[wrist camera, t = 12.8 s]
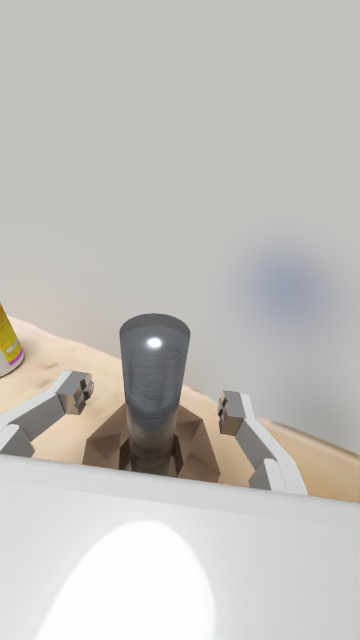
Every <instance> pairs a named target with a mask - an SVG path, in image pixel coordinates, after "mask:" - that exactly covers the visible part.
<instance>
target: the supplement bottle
mask: <svg viewBox="0 0 360 640" xmlns="http://www.w3.org/2000/svg"><path fill="white" fill-rule="evenodd" d="M23 358H24V352H23V349H22V347H21V345H20V343H19V341H18V339H17V337H16V335H15V332H14V330H13V328H12V326H11V324H10V322H9V320H8V318H7V316H6V314H5V312H4V310H3V308H2V305H1V303H0V377H1V376H3V375H5V374H7V373H9V372H11V371H12V370H14V369H15V368H16V367H17V366H18V365H19V364H20V363H21V362H22V360H23Z"/></svg>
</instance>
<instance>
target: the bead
mask: <svg viewBox="0 0 360 640" xmlns="http://www.w3.org/2000/svg"><path fill="white" fill-rule="evenodd" d="M171 455H172V456H173V457H174V459H175V465H176V471H177V478H183V479H190V480H198V481H205V482H212V483H217V482H218V479H219V476H220V471H219V468H218V465H217V462H216V459H215V456H214V453H213V450H212V447H211V444H210V441H209V438H208V435H207V431H206V428H205V425H204V422H203V419H201V418H199V417H198V416H196V415H195V414H193V413H192V412H190V411H189V410H187V409H186V408H184V407H183V406H181V405H180V404H179V407H178V413H177V419H176V425H175V431H174V437H173V443H172V449H171ZM130 459H131V457H130V446H129V435H128V424H127V412H126V402H125V403H124V404H123V405H122V406H121V407H120V408H119V409H118V410H117V411H116V412H115V413H114V414H113V415H112V416H111V417H110V418H109V419H108V420H107V421H106V422H105V423H104V424H103V425H102V426H101V427H99V428H98V429H97V430H96V431H95V432H94V433H93V434H92V435H91V436H90V437H89V438H88V439H87V442H86V447H85V452H84V457H83V462H82V465H88V466H96V467H103V468H110V469H117V470H123V468H124V467H125V466H126V464H127V463H128V462H129V460H130Z"/></svg>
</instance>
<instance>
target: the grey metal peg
mask: <svg viewBox="0 0 360 640" xmlns="http://www.w3.org/2000/svg"><path fill="white" fill-rule="evenodd" d="M189 341H190V330H189V328H188V327H187V325H186V324H185V323H184V322H182V321H181V320H179V319H177V318H175V317H172V316H169V315H164V314H143V315H139V316H136V317H133V318H131V319H129V320H128V321H126V322H125V323H124V324H123V325H122V327H121V329H120V344H121V355H122V368H123V379H124V390H125V401H126V412H127V424H128V435H129V446H130V457H131V468H132V472H139V473H147V474H154V475H161V476H167V473H168V467H169V461H170V455H171V449H172V443H173V437H174V431H175V425H176V419H177V413H178V407H179V401H180V395H181V389H182V382H183V376H184V371H185V365H186V359H187V353H188V346H189Z"/></svg>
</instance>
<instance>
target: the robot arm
mask: <svg viewBox="0 0 360 640" xmlns="http://www.w3.org/2000/svg"><path fill="white" fill-rule="evenodd" d="M91 379H92V375H91V374H89V373H83V372H77V371H70V370H65V371H63V372H62V374H61V375H60V376H59V377H58V378H57V379H56V381H55V382H54V383H53V384H52V385H51V386H50V388H49V389H48V390H47V391H46V392H42V393H40V394H38V395H37V396H35V397H33V398H31V399H29V400H27V401H26V402H24V403H22V404H20V405H18V406H16V407H15V408H13V409H11V410H9V411H7V412H5V413H3V414H2V415H0V640H360V503H358V502H351V501H344V500H336V499H329V498H322V497H315V496H309V494H308V492H307V489H306V487H305V484H304V482H303V480H302V477H301V475H300V472H299V470H298V467H297V465H296V462H295V461H294V460H293V459H292V457H291V456H290V455H289V454H288V453H287V452H286V451H285V450H284V448H283V447H282V446H281V445H280V444H279V443H278V442H277V441H276V439H275V438H274V437H273V436H272V435H271V434H270V433H269V432H268V430H267V429H266V428H265V427H264V426H263V425H262V424H261V423H260V421H258V420H256V418H255V415H254V412H253V408H252V406H251V402H250V398H249V395H248V394H246V393H238V392H232V391H222V392H221V398H220V399H219V401H218V415H219V417H220V421H219V427H220V434H224V435H231V436H235V438H236V440H237V442H238V443H239V445H240V446H241V448H242V450H243V451H244V453H245V454H246V456H247V458H248V459H249V461H250V462H251V464H252V466H253V467H254V469H255V472H254V474H253V475H252V476H251V478H250V479H249V485H250V488H249V487H242V486H234V485H227V484H220V483H212V482H205V481H198V480H190V479H183V478H176V477H169V476H161V475H154V474H147V473H139V472H132V471H125V470H117V469H110V468H103V467H96V466H88V465H81V464H74V463H66V462H59V461H52V460H44V459H37V458H31V456H32V455H33V453H34V452H35V448H34V447H33V445H32V444H31V441H32V440H34V439H35V438H36V437H38V436H39V435H40V434H41V433H43V432H44V431H45V430H46V429H48V428H49V427H50V426H51V425H53V424H54V423H55V422H56V421H58V420H59V419H60V418H62V417H63V416H64V415H65V414H74V415H80V414H81V412H82V410H83V409H84V407H85V405H86V402H85V401H86V400H87V399H89V398H90V397H91V395H92V393H93V389H94V383H93V382H92V381H91Z"/></svg>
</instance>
